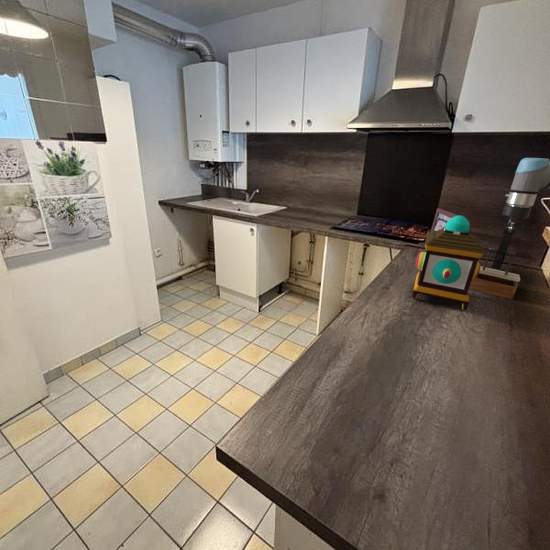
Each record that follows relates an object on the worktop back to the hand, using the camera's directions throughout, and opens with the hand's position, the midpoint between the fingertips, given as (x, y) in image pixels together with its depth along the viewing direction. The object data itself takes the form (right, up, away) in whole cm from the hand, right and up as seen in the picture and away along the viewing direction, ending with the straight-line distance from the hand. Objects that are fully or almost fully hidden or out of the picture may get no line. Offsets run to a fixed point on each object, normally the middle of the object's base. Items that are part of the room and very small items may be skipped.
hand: (495, 268), depth 110 cm
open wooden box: (+2, -8, +6) cm, 10 cm away
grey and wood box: (+2, -2, +3) cm, 4 cm away
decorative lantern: (-23, -10, -1) cm, 25 cm away
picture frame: (-3, +3, +31) cm, 31 cm away
